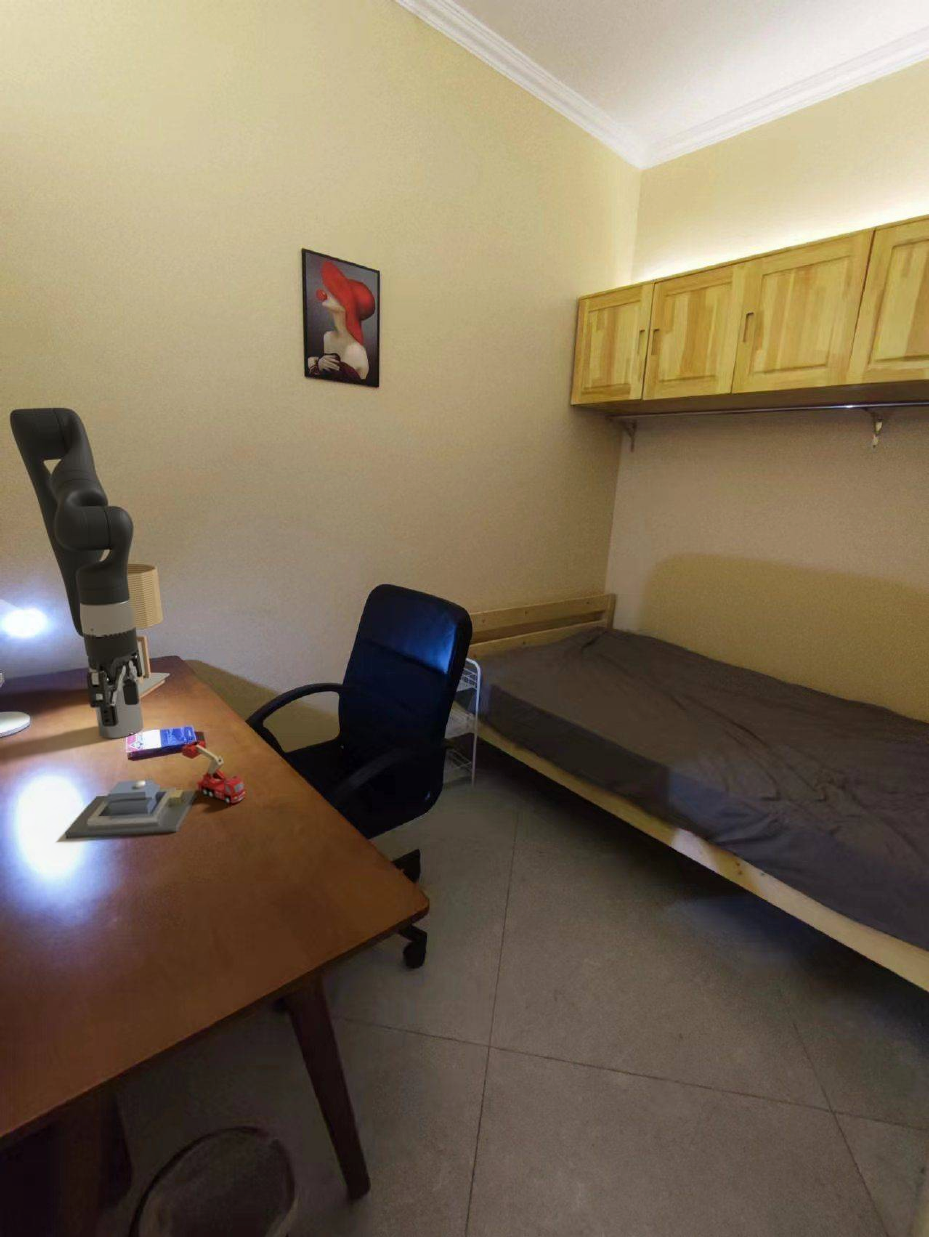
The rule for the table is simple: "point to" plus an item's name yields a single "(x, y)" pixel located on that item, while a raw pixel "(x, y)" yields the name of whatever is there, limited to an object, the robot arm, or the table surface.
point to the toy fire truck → (215, 775)
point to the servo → (132, 797)
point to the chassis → (133, 816)
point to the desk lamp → (145, 617)
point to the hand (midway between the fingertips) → (122, 714)
